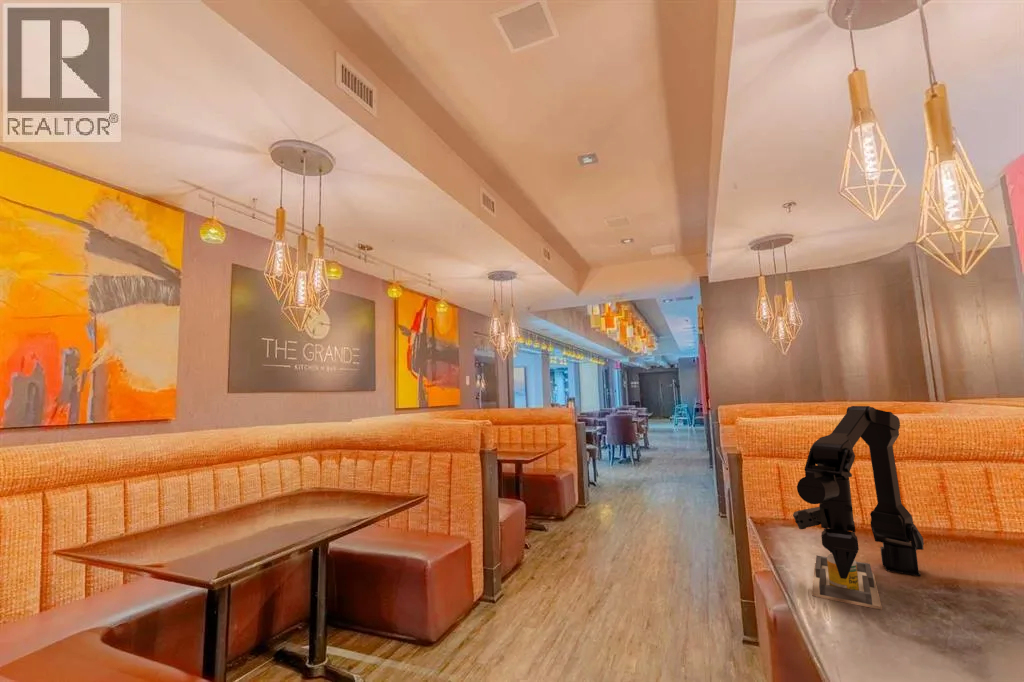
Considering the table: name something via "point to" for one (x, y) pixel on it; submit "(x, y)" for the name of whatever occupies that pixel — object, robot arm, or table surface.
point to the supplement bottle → (840, 582)
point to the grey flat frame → (862, 597)
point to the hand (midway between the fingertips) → (842, 571)
